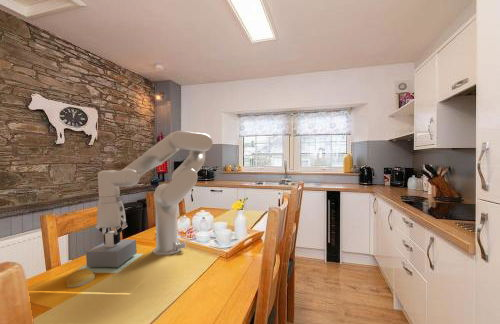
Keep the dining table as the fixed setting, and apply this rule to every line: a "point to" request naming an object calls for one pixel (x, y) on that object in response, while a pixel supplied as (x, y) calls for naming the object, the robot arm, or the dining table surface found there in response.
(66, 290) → the dining table surface
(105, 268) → the sage mat
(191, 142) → the robot arm
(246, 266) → the dining table surface
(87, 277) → the bread roll
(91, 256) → the cover
